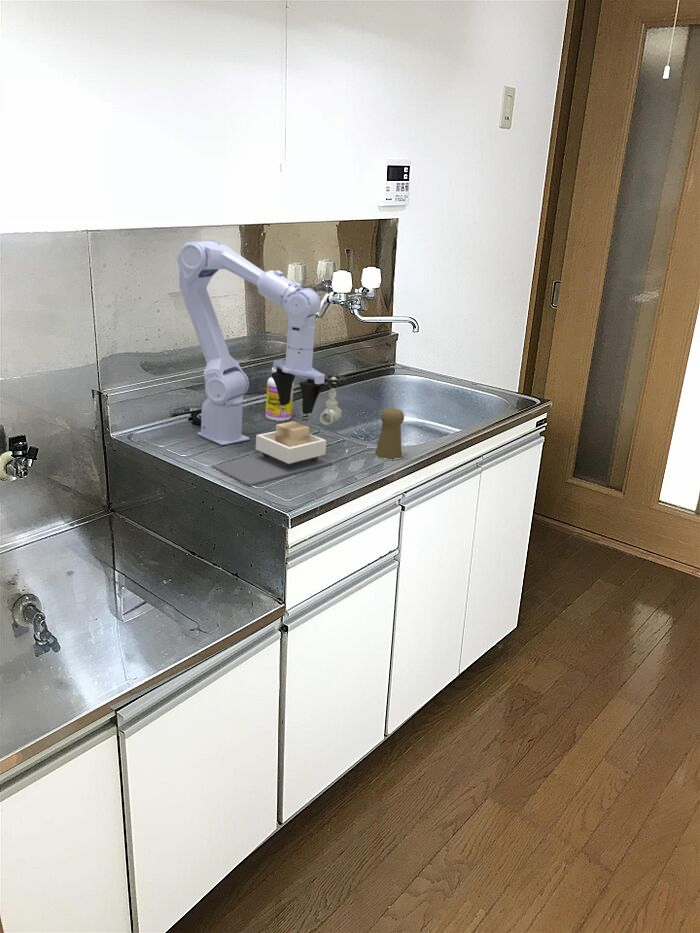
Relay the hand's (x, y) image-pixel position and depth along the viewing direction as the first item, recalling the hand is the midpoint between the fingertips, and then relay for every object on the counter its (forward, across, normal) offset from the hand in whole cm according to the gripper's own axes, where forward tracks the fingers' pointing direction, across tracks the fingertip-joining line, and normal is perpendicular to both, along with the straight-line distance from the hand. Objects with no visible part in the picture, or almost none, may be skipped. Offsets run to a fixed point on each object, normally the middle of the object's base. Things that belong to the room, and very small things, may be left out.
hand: (295, 408), depth 170 cm
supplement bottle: (+11, -22, +14) cm, 29 cm away
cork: (+10, +13, +18) cm, 24 cm away
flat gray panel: (+10, +4, -9) cm, 14 cm away
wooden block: (+7, +4, -4) cm, 9 cm away
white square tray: (+10, +4, -4) cm, 12 cm away
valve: (+11, -12, +23) cm, 28 cm away
